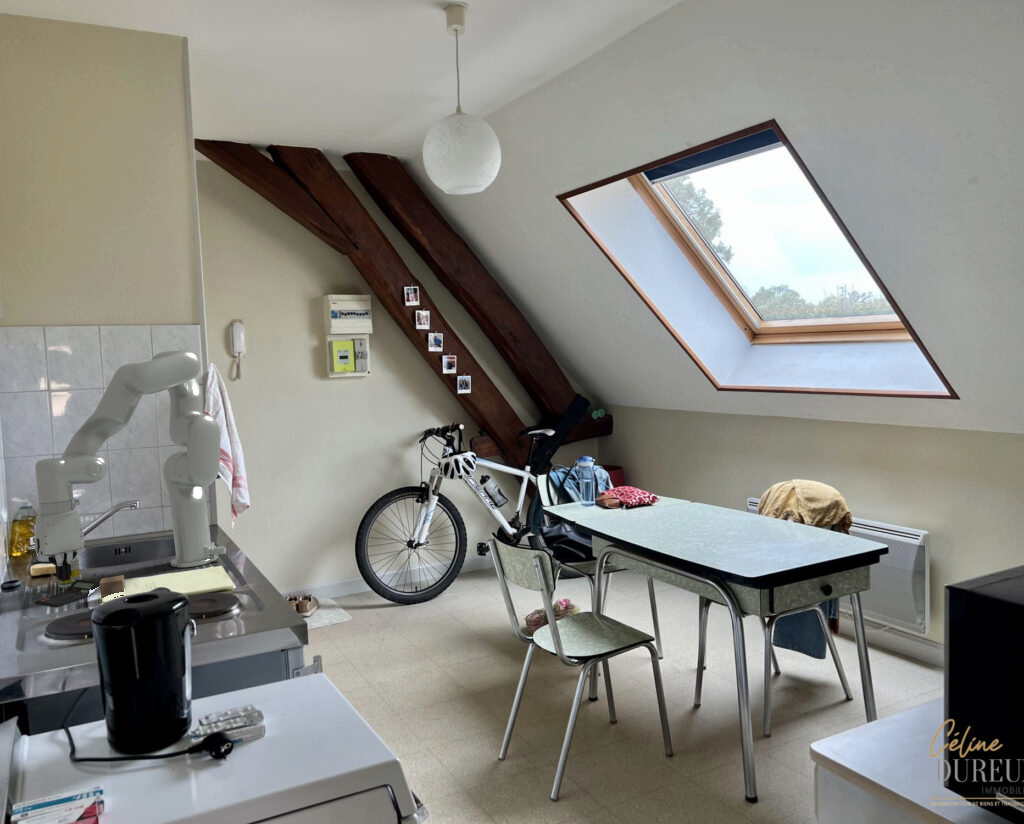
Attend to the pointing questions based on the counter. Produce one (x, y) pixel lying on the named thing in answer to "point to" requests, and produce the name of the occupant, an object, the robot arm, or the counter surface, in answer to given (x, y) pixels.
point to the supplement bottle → (74, 573)
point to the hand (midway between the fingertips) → (64, 579)
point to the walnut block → (112, 585)
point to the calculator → (70, 594)
